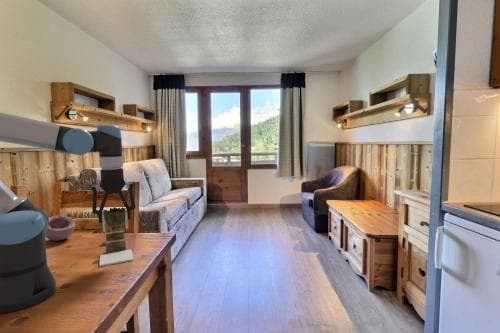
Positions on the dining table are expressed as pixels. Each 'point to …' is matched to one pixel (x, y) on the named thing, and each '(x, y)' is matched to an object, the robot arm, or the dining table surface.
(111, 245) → the walnut slot holder
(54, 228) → the pink bowl
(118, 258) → the ceramic tile
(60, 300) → the dining table surface
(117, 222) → the cup
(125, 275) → the dining table surface
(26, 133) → the robot arm
